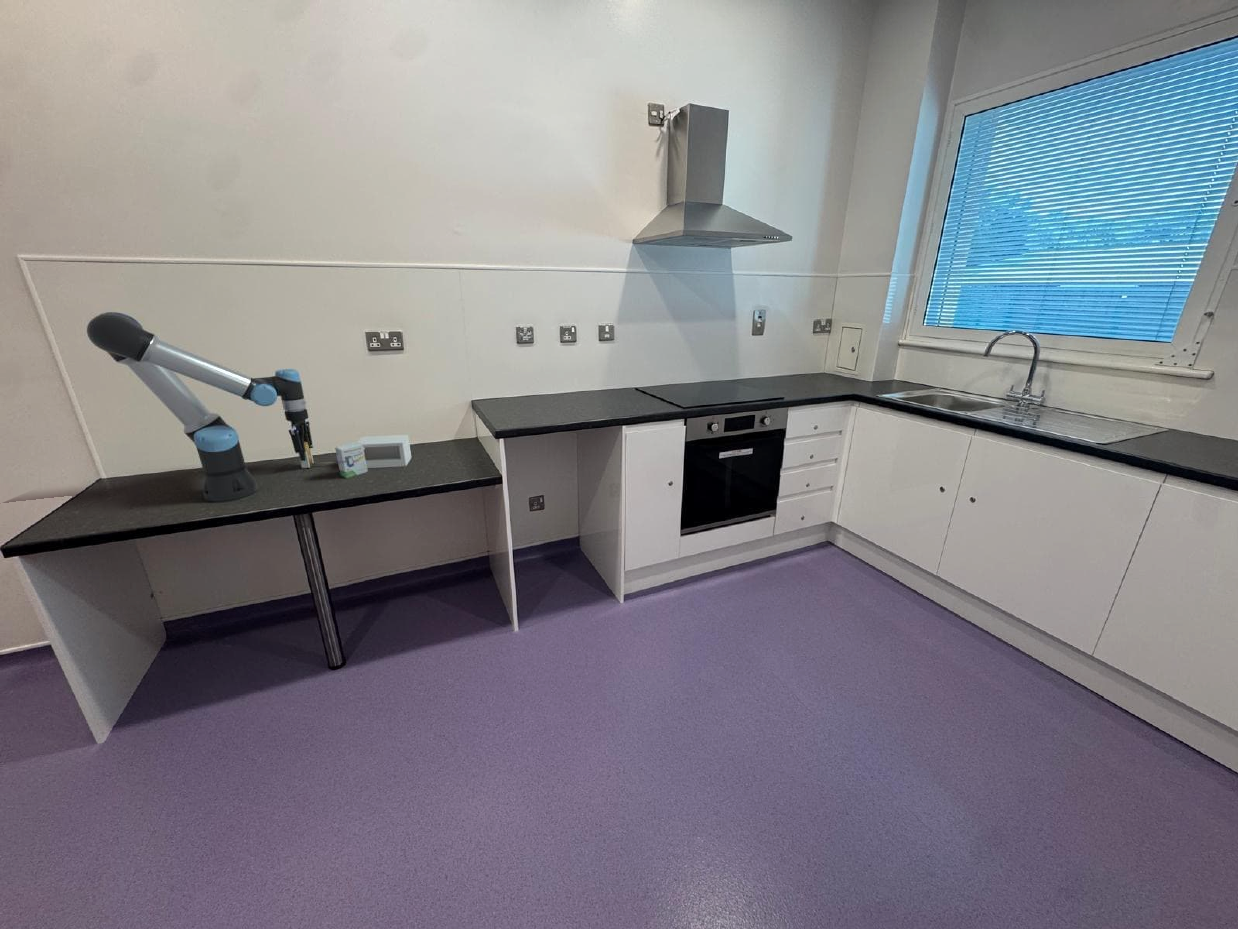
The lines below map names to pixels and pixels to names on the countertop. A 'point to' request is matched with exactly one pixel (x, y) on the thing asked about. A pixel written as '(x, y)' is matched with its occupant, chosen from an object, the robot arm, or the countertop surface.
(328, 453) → the countertop surface
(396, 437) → the box
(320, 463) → the corded block
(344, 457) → the ink box
